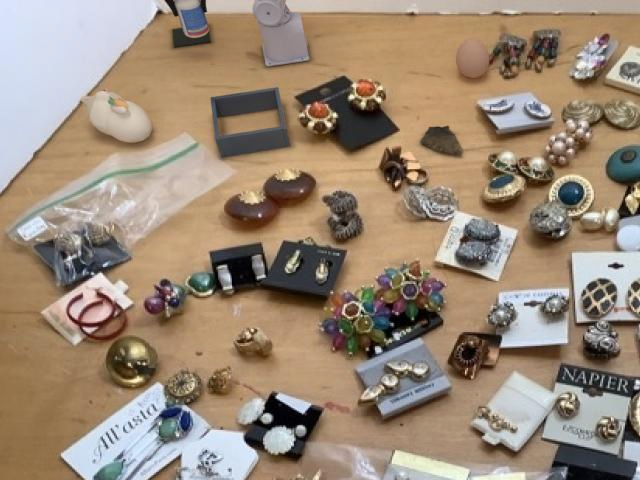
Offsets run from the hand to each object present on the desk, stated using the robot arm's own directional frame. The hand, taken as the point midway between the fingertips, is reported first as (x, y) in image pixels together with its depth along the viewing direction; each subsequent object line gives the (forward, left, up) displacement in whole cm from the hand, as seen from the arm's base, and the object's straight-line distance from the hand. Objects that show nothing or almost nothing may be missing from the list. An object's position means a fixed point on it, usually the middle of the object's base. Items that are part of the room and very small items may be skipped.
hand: (190, 12), depth 170 cm
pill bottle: (0, 0, -5) cm, 5 cm away
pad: (+2, -9, -10) cm, 14 cm away
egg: (-56, +22, -11) cm, 61 cm away
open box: (-8, +29, -10) cm, 31 cm away
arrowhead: (-45, +43, -11) cm, 63 cm away
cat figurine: (+17, +23, -11) cm, 30 cm away
